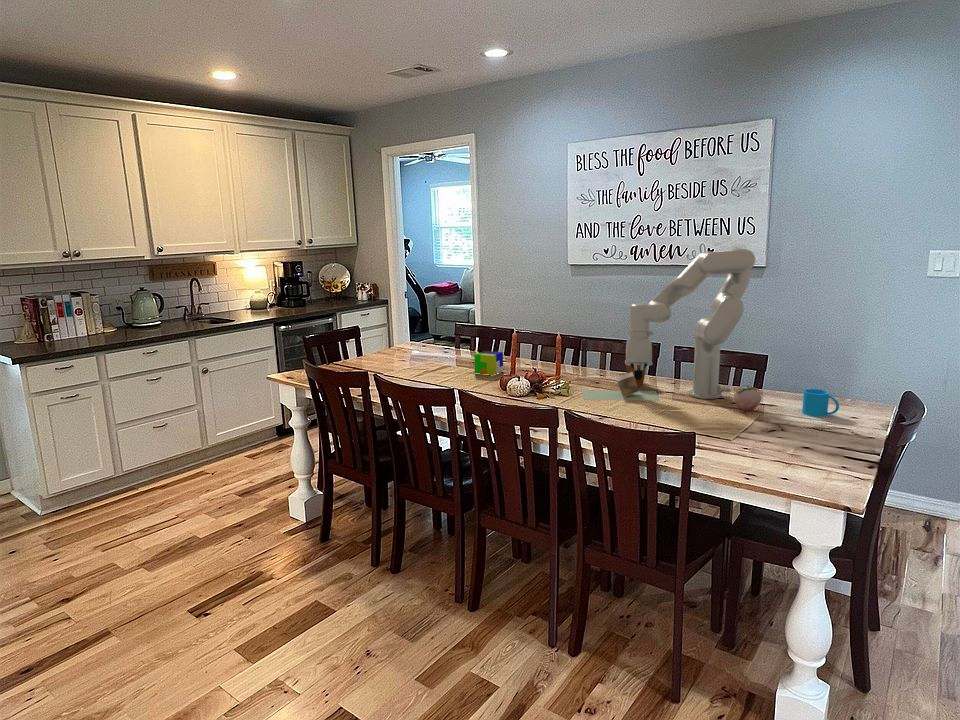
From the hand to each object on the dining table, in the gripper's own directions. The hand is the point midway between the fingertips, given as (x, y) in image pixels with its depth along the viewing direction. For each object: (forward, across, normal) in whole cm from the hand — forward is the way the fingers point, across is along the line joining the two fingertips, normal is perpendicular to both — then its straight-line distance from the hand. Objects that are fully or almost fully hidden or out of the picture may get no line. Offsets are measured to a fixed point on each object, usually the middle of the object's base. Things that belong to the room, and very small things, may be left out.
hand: (638, 379), depth 260 cm
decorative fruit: (+7, -37, +20) cm, 43 cm away
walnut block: (+6, +3, 0) cm, 6 cm away
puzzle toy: (+7, +66, -40) cm, 78 cm away
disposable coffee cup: (+7, -1, -19) cm, 20 cm away
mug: (+8, -62, +22) cm, 66 cm away
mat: (+7, +7, 0) cm, 10 cm away
